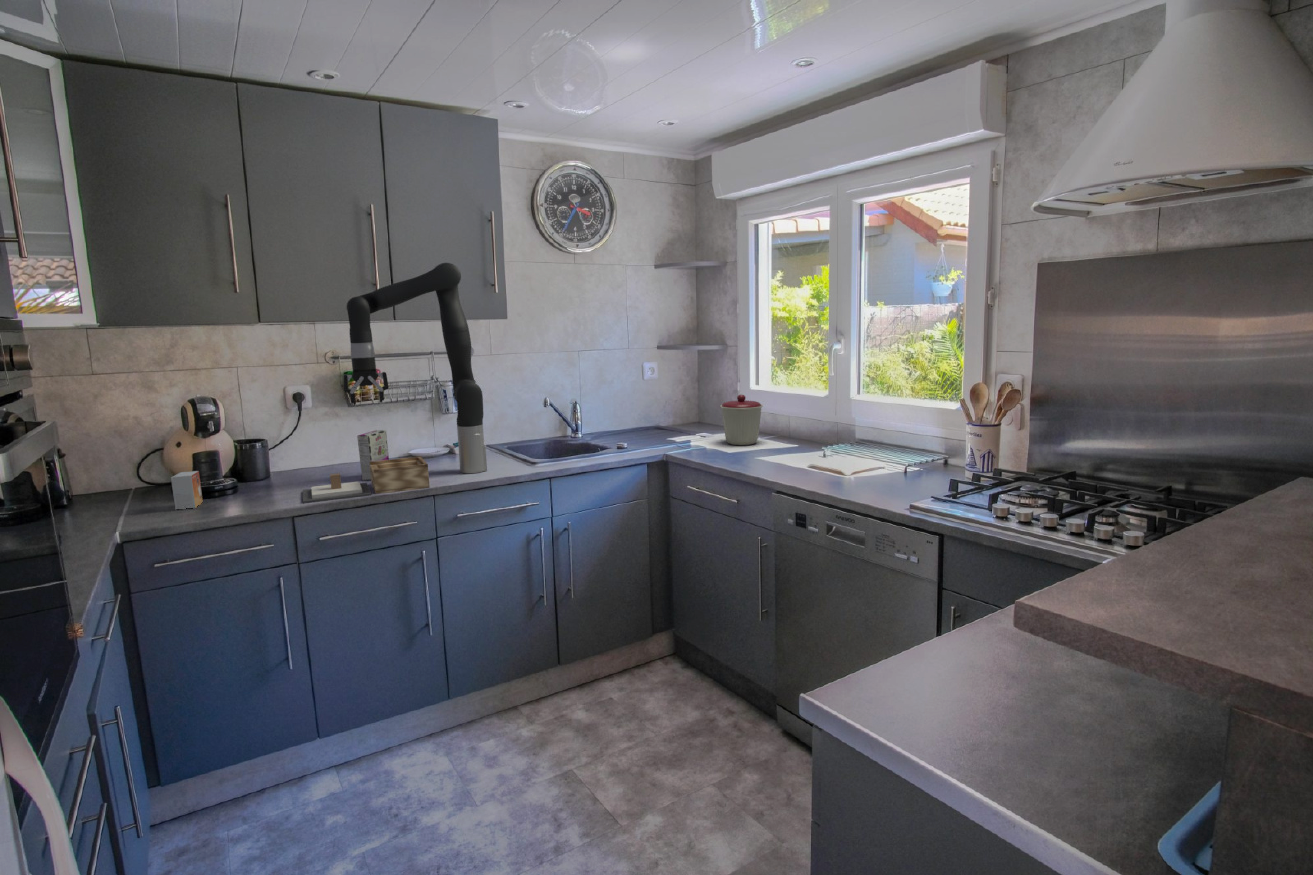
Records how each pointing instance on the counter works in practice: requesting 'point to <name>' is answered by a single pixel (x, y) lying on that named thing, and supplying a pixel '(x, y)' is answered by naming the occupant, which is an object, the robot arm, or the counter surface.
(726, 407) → the canister
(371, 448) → the candy bar box
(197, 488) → the small box
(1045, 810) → the counter surface
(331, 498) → the rubber mat
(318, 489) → the cover plate
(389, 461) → the wooden box
